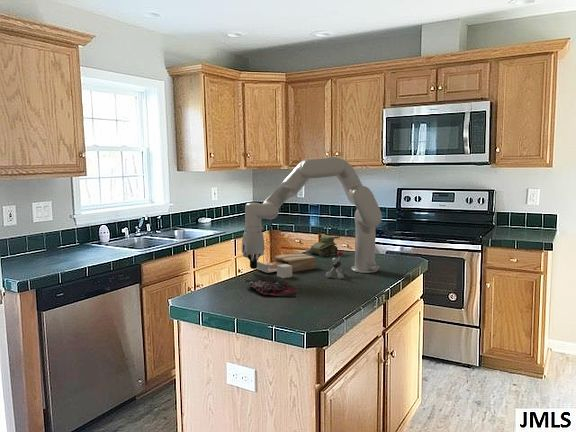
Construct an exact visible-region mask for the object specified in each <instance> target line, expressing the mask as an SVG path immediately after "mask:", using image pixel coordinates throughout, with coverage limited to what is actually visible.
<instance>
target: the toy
mask: <svg viewBox="0 0 576 432" xmlns="http://www.w3.org/2000/svg"><path fill="white" fill-rule="evenodd" d="M340 237H341V236H340V235H337V236H331V235H330V236H329V235H324V236H321V237H320V241H318V242H315V243H314V244H313V245H311V246H310V248H309V250H308V253H309V255H311V256H312V255H314V254H315V255H318V256H319V257H320V256H321V257H320V258H324V257H323V256H327V255H330V254H336V255H337V253H338V252H339V251H338V247H337V245H338V244H337V243H336V242H335V239H340ZM315 255H314V256H315ZM327 257H328V256H327Z"/></svg>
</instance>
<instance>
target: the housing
mask: <svg viewBox="0 0 576 432" xmlns="http://www.w3.org/2000/svg"><path fill="white" fill-rule="evenodd" d="M316 260H317V258H316V257H315V256H312V255H310V254H305V253H302V252H293V253H288V254H287V253H286V254H279V255H274V261H273V262H278V263H279V262H281V263H284V264H288V265H291V266H292V273H294V272H300V271H306V270H314V269H316V267H317V266H316V263H317V262H316Z"/></svg>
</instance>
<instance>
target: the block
mask: <svg viewBox="0 0 576 432" xmlns="http://www.w3.org/2000/svg"><path fill="white" fill-rule="evenodd" d="M276 276H277V277H278V278H282V279H286V278H292V277H293V272H292V266H291V265H288V264H282V265H277V271H276Z"/></svg>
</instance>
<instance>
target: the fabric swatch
mask: <svg viewBox="0 0 576 432" xmlns="http://www.w3.org/2000/svg"><path fill="white" fill-rule="evenodd" d="M244 283H247V284H248V285H249V286H250V287H251V288H253V289H255V290H256V292H257V293H260V294H263V295H270V296H277V297H287V298H288V297H291V298H295V297H296V290H297V289H294V288H293V286H292V285H291V284H290V283H288V282H287V281H281V280H277V281H276V280H275V281H271V280H270V281H266V280H265V281H264V280H256V279H246V280H245V281H244Z"/></svg>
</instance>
